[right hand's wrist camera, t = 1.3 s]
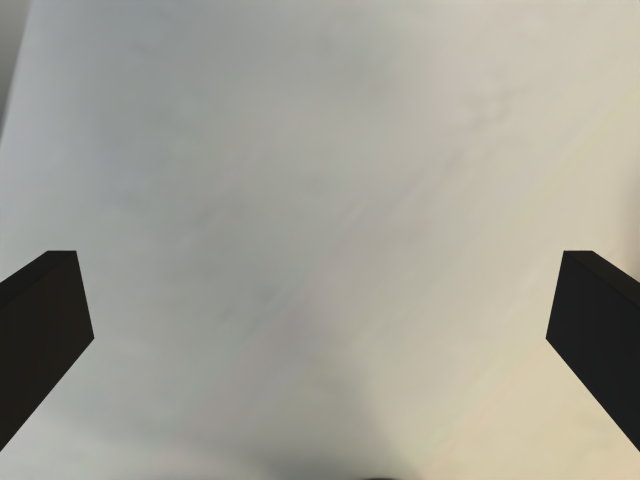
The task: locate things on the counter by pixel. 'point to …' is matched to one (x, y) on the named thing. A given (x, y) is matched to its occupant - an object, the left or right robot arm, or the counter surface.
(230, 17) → the counter surface
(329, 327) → the counter surface
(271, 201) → the counter surface
